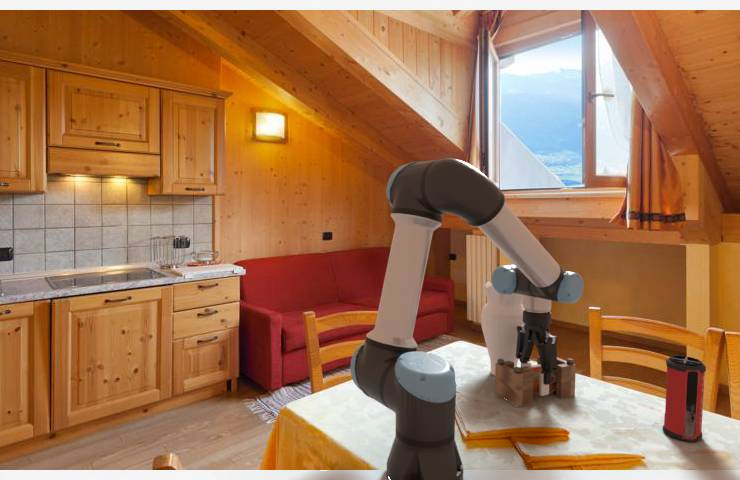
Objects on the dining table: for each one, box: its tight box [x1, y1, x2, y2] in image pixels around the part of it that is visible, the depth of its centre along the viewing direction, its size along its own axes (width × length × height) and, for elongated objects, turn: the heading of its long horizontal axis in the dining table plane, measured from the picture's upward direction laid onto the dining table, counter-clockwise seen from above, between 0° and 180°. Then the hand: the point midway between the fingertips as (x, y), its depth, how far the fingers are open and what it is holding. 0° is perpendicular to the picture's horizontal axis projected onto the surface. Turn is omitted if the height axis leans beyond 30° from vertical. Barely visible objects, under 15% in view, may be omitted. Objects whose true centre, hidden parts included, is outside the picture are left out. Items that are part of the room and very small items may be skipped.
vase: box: [480, 281, 525, 377], centre depth 146 cm, size 15×15×29 cm
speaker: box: [662, 355, 707, 443], centre depth 107 cm, size 8×8×18 cm
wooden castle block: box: [494, 355, 577, 408], centre depth 130 cm, size 10×20×10 cm, turn 112°
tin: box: [519, 364, 557, 398], centre depth 131 cm, size 15×3×8 cm, turn 107°
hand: (534, 389), depth 131 cm, fingers open, 7 cm apart
